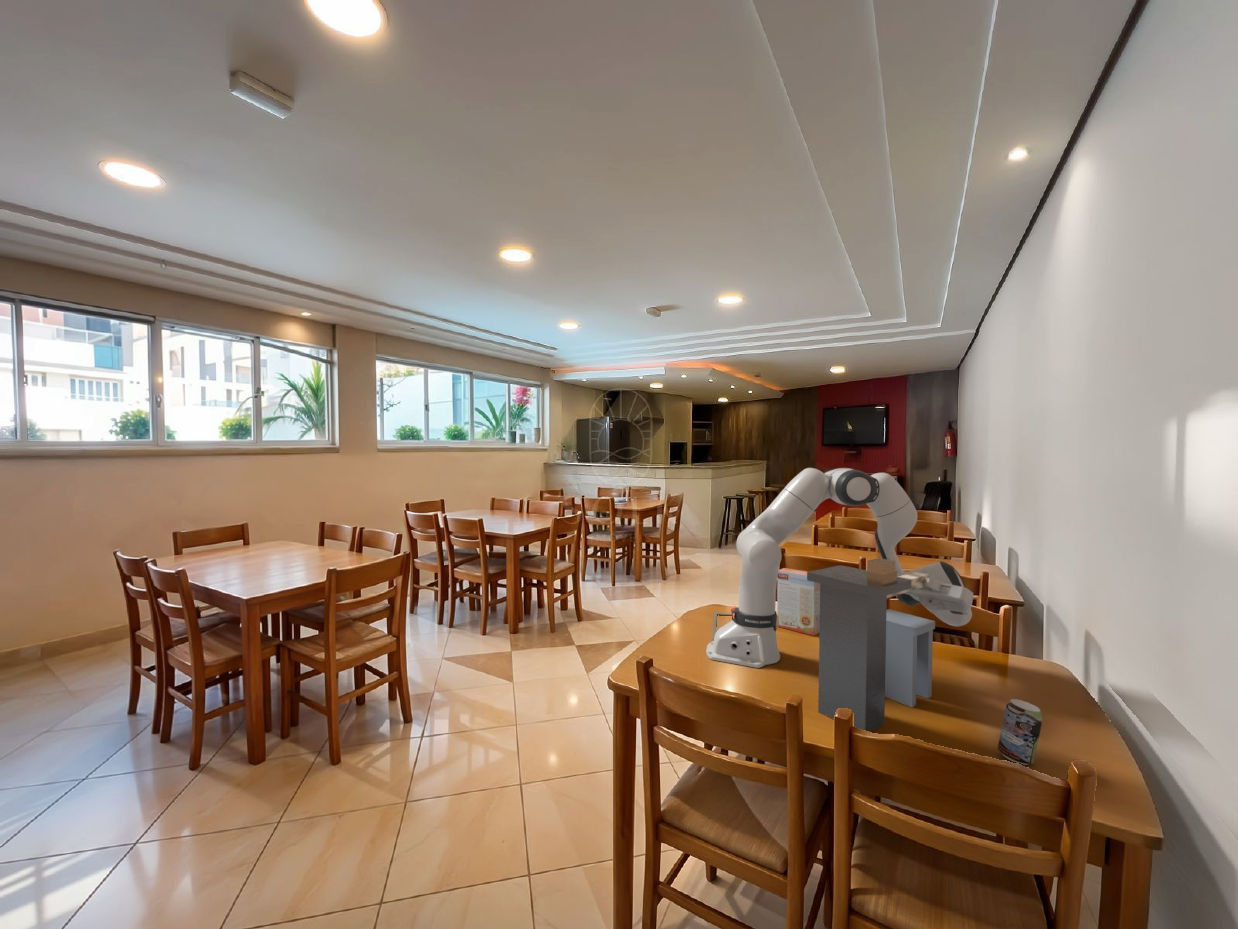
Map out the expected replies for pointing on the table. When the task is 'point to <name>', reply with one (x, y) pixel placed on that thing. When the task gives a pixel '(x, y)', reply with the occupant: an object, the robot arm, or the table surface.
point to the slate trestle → (908, 657)
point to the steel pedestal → (855, 638)
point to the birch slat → (913, 582)
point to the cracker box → (798, 602)
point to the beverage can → (1020, 731)
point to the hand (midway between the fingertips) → (916, 578)
